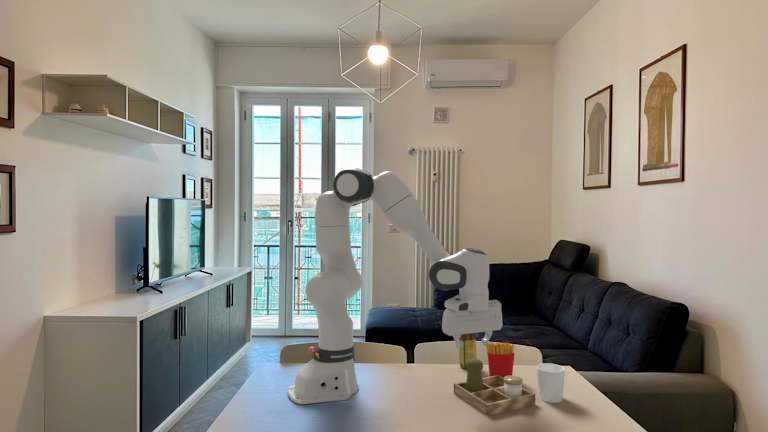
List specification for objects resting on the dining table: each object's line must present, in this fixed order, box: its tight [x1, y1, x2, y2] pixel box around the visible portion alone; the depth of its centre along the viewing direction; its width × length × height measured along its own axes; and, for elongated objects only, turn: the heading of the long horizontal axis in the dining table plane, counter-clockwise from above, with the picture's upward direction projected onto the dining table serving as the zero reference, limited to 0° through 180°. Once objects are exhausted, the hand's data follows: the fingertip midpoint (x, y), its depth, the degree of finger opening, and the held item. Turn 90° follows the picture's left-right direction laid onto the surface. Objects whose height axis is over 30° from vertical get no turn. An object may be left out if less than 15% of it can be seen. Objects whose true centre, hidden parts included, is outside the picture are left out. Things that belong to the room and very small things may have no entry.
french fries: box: [485, 342, 515, 378], centre depth 158 cm, size 9×4×13 cm, turn 86°
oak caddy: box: [453, 375, 536, 417], centre depth 142 cm, size 17×17×4 cm
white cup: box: [536, 362, 566, 404], centre depth 142 cm, size 8×8×10 cm
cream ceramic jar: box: [504, 374, 523, 398], centre depth 140 cm, size 5×5×7 cm
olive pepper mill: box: [465, 359, 484, 393], centre depth 144 cm, size 6×6×11 cm
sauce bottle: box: [458, 333, 478, 370], centre depth 172 cm, size 7×6×20 cm
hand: (472, 346), depth 144 cm, fingers open, 8 cm apart
